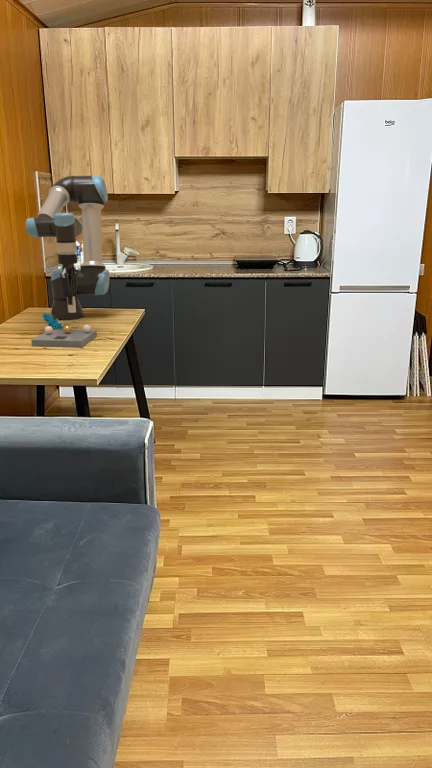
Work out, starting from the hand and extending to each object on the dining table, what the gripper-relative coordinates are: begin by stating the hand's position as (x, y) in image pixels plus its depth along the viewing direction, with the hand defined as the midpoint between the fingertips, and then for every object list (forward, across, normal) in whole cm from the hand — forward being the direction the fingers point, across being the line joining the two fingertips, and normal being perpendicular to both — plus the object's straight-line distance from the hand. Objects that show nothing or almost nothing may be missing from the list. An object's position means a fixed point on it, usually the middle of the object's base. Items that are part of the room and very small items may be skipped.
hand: (72, 312), depth 230 cm
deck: (+10, -9, 0) cm, 14 cm away
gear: (+10, +9, +12) cm, 18 cm away
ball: (+6, -6, 0) cm, 9 cm away
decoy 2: (+6, -4, -7) cm, 10 cm away
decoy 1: (+6, -8, +7) cm, 13 cm away
